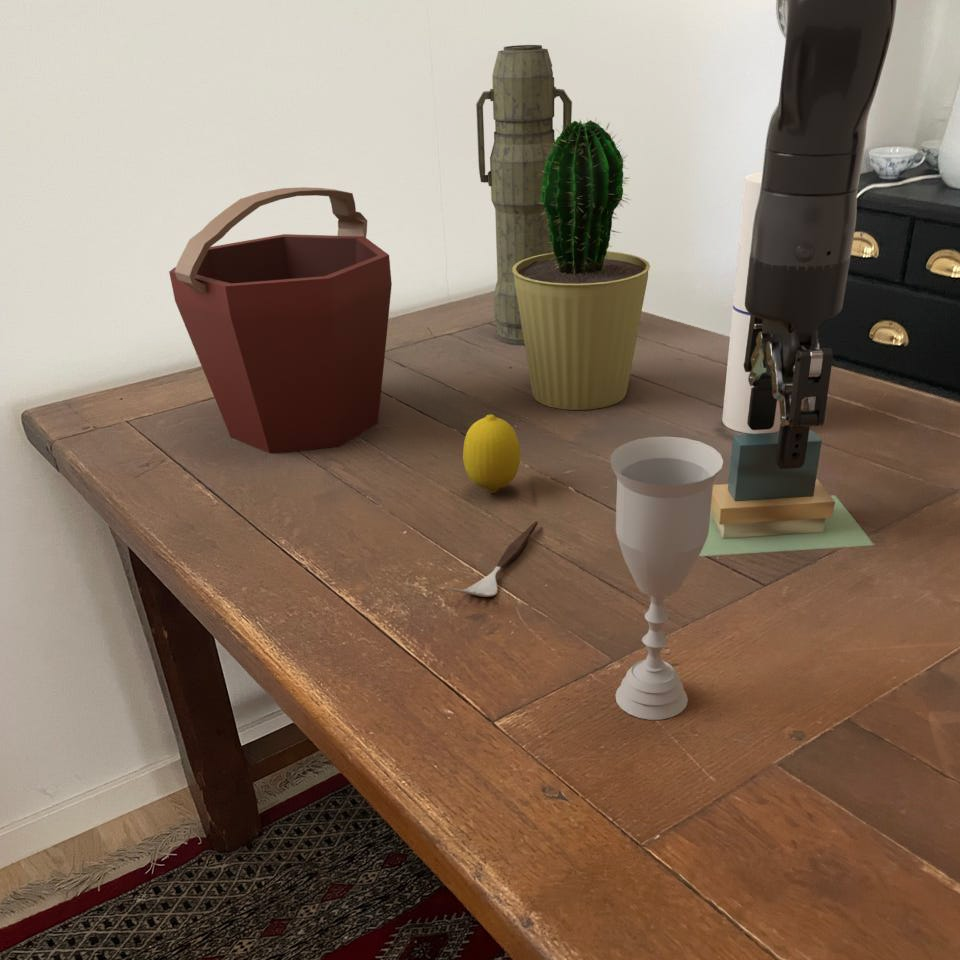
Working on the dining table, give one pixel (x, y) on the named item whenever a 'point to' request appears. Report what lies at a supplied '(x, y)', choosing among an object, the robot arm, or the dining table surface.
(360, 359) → the bucket
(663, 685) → the chalice
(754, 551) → the mat
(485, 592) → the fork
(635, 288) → the potted cactus
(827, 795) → the dining table surface
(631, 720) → the dining table surface
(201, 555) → the dining table surface
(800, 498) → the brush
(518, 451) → the lemon
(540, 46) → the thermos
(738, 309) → the cylindrical container
